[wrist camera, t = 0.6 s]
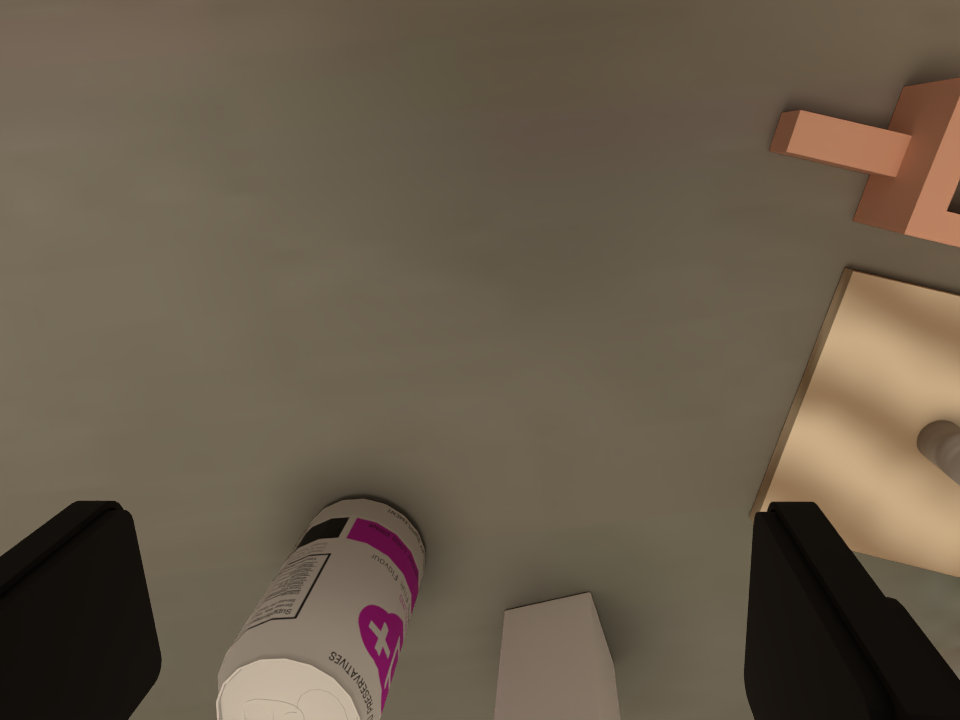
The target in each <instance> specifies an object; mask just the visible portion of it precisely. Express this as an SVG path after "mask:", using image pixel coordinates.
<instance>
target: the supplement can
mask: <svg viewBox="0 0 960 720" xmlns="http://www.w3.org/2000/svg"><path fill="white" fill-rule="evenodd" d="M424 571H425V549H424V546H423V544H422V541H421V538H420V536H419V533H418V531H417V530H416V529H415V528H414V527H413V525H412V524H411V523H410V522H409V521H408V519H407V518H406V517H405V516H404V515H403V514H401V513H399V512H398V511H396V510H394V509H393V508H391V507H389V506H388V505H386V504H384V503H380V502H375V501H371V500H367V499H352V500H342V501H339V502H337V503H335V504H333V505H330V506H328V507H326V508H324V509H323V510H322V511H321V512H320V513H319V514H318V515H317V516H316V517H315V518H314V519H313V520H312V521H311V522H310V523H309V525H308V527H307V528H306V530H305V531H304V533H303V534H302V536H301V537H300V539H299V541H298V542H297V544H296V545H295V547H294V548H293V550H292V552H291V553H290V555H289V556H288V558H287V559H286V561H285V562H284V564H283V566H282V567H281V569H280V570H279V572H278V573H277V575H276V576H275V578H274V580H273V581H272V583H271V584H270V586H269V587H268V589H267V590H266V592H265V594H264V595H263V597H262V598H261V600H260V601H259V603H258V605H257V606H256V608H255V609H254V611H253V612H252V614H251V615H250V617H249V619H248V620H247V622H246V623H245V625H244V626H243V628H242V629H241V631H240V633H239V634H238V636H237V637H236V639H235V640H234V642H233V644H232V645H231V647H230V648H229V650H228V651H227V653H226V655H225V657H224V660H223V663H222V666H221V668H220V671H219V674H218V690H219V696H218V698H217V701H216V708H217V720H380V717H381V714H382V711H383V707H384V704H385V701H386V697H387V694H388V691H389V687H390V684H391V681H392V677H393V674H394V671H395V667H396V664H397V661H398V657H399V654H400V651H401V647H402V644H403V641H404V637H405V634H406V631H407V627H408V624H409V621H410V617H411V614H412V611H413V607H414V604H415V601H416V597H417V594H418V591H419V587H420V584H421V581H422V577H423V574H424Z"/></svg>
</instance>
